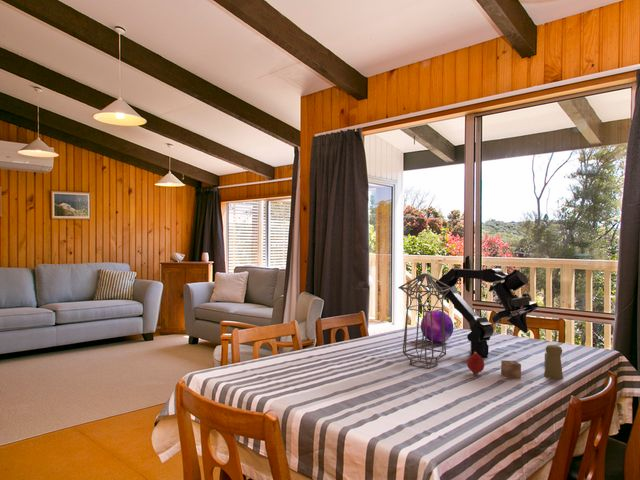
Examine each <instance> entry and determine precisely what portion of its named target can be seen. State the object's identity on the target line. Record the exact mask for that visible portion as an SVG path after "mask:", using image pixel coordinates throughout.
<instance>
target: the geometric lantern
mask: <svg viewBox="0 0 640 480" xmlns="http://www.w3.org/2000/svg"><path fill="white" fill-rule="evenodd" d="M425 280H426V283H427V285H425V284H423V283H424V281H425ZM436 281H438V282H439V283H441V284H443V285H445V286H446V287H439V286H438V284H437V283H436ZM409 284H410V285H409ZM407 285H409V286H407ZM421 287H422V288H423V289H424V290H420V289H421ZM437 288H438V289H439V290H441V291H439V290H438V289H437ZM444 288H447V289H446V290H444V291H443V290H442V289H444ZM398 289H399V290H401V291H403V292H404V293H405V294H406V305H405V307H406V313H405V323H404V334H403V343H402V344H403V346H402V355H404V356H405V357H406V358H407V359H408V360H409V366H412V367H416V368H422V369H426V370H429V369H432V368H435V367H436V366H438V365H439V362H438V361H439V360H441V358H443V357H445V356H447V345H446V341H445V328H444V313H445V312H444V308H445V307H444V298H445V295H446V294H447V293H448V292H449V291H450V290H451V289H452V288H451V287H449V286H447V285H446V284H444V283H442V282H440V281H439V280H438V279H437V278H435V277H433V276H432V275H430V274H429V273H427V272H426V273H421V274H420V275H418V276H417V277H414V278H413V279H411V280H409V281H407V282H406V283H404V284H402V285H400V286H399V287H398ZM445 291H447V292H446V293H445V294H444V292H445ZM439 292H441V293H439ZM418 293H423V294H421V295H419V296H418ZM442 293H443V295H441V294H442ZM428 294H429V295H428ZM426 295H428V297H427V298H426V299H425V301H424V302H423V303H422V301H421V300H420V298H422V297H424V296H426ZM413 296H414V297H413ZM431 296H434V297H436V298H437V300H436V302H435V304H434V305H433V306H431V305H426V303H427V301H429V299H430V297H431ZM440 296H441V297H440ZM409 298H410V299H411V301H410V303H409ZM413 300H417V302H418V304H416V305H412V303H413ZM438 302H440V304H441V307H440V306H436V305H437V304H438ZM408 303H409V304H408ZM408 305H409V306H408ZM411 305H412V306H411ZM414 307H418V309H416V308H414ZM421 307H422V309H421ZM425 307H429V308H432V309H431V310H427V309H426V308H425ZM434 309H435V310H434ZM409 310H410V311H417V322H416V323H417V324H416V336H415V337H416V338H415V339H416V340H415V347H413V348H409V349H407V338H408V317H409ZM434 311H442V342H441V350H437V349H434V342H433V330H432V312H434ZM420 312H422V319H423V333H422V338H421V340H422V341H421V347H419V346H418V338H419V337H418V336H419V323H420ZM428 312H429V313H430V315H431V341H430V342H431V348H427V343H428V342H427V341H428V339H427V313H428ZM424 316H425V336H424ZM443 335H444V340H443ZM418 349H419V350H420V353H419V352H418ZM414 350H415V351H416V355H413V354H410V353H407V352H411V351H414ZM423 350H424V355H422V354H423ZM427 351H431V356H427ZM434 352H437V353H439V355H437V356H434ZM419 354H420V355H419ZM410 357H411V358H410ZM415 359H416V360H415ZM417 359H419V360H417ZM429 360H430V361H429ZM415 363H422V364H423V365H424V364H426V367H425V366H421V365H416V364H415ZM414 364H415V365H414ZM431 364H432V365H433V366H431ZM428 365H429V367H428Z"/></svg>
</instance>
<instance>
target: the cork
mask: <svg viewBox="0 0 640 480" xmlns="http://www.w3.org/2000/svg"><path fill="white" fill-rule="evenodd" d="M545 351H546V353H547V360H546V366H545V365H544V373H543V377H546V378H549V379H553V380H562V379H564V375H563V374H564V373H563V365H562V359H561V355H563V349H562V347H561V346H560V345H556V344H548V345H546V347H545Z"/></svg>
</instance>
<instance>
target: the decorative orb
mask: <svg viewBox="0 0 640 480" xmlns="http://www.w3.org/2000/svg"><path fill="white" fill-rule="evenodd" d="M433 311H434V310H433ZM444 328H445V342H446V341H448V340H449V339H450V338H451V336H452V335H453V333H454V322H453V320H452V318H451V316H450V315H449V314H448V313H446V312H444ZM420 330H421V333H422V334H423V318H422V319H421V321H420ZM432 330H433V344H434V343H435V344H439V343H441V344H442V310H439V311H434V312H432ZM424 337H425V315H424ZM443 340H444V335H443ZM427 341H428V342H431V315H430V313H429V312H427Z"/></svg>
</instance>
